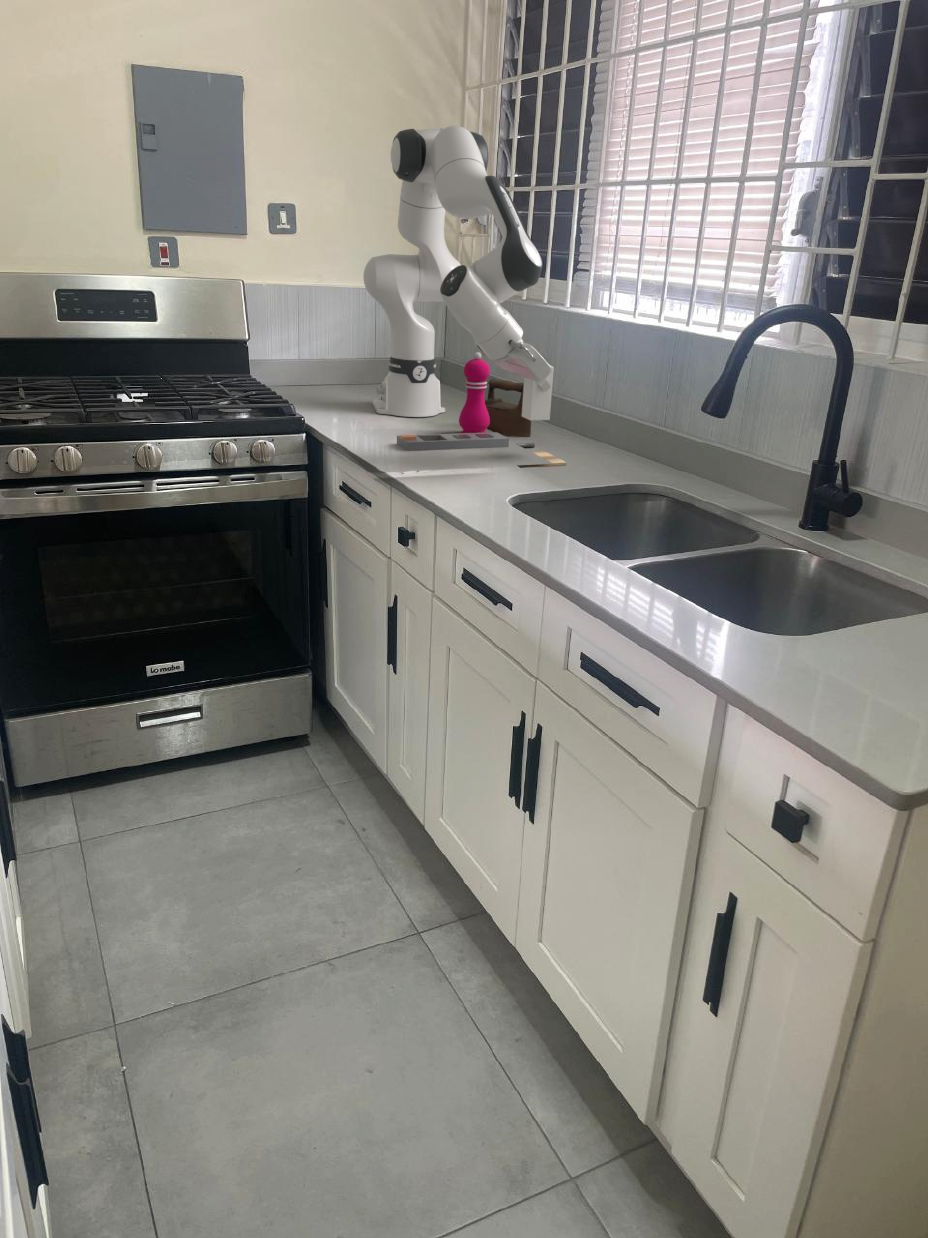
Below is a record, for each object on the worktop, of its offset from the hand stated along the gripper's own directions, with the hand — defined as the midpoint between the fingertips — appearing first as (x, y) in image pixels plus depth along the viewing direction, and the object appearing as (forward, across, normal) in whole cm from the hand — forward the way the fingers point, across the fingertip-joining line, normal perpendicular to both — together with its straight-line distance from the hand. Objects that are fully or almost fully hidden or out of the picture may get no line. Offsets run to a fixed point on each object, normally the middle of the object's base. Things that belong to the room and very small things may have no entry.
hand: (540, 386), depth 197 cm
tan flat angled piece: (+11, 0, +12) cm, 16 cm away
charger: (+4, 0, +5) cm, 7 cm away
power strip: (+4, +12, +19) cm, 23 cm away
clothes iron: (+16, +28, +7) cm, 33 cm away
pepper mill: (+7, +22, +15) cm, 28 cm away
